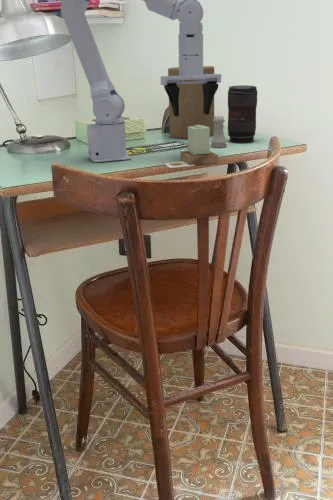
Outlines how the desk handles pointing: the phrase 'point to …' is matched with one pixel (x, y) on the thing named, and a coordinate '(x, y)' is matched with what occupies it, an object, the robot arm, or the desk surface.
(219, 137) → the rook chess piece
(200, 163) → the base brick
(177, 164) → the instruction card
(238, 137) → the camera lens
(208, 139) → the top brick
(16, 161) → the desk surface
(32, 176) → the desk surface
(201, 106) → the wooden block
